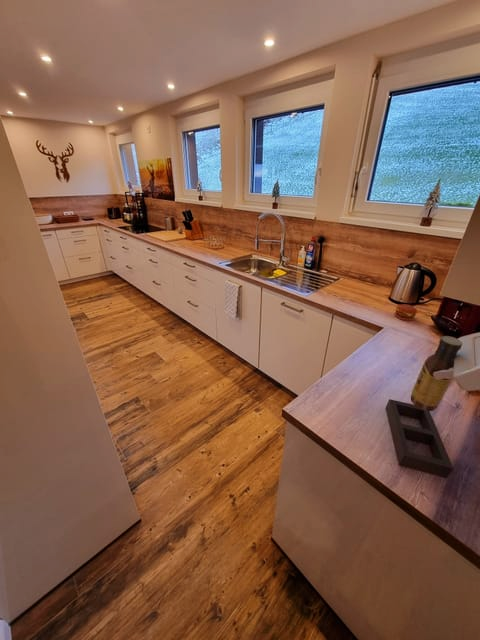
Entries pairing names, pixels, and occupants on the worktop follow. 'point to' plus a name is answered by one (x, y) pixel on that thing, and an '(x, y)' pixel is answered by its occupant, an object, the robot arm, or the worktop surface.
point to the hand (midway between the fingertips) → (435, 367)
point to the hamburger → (405, 312)
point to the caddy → (417, 439)
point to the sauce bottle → (426, 386)
